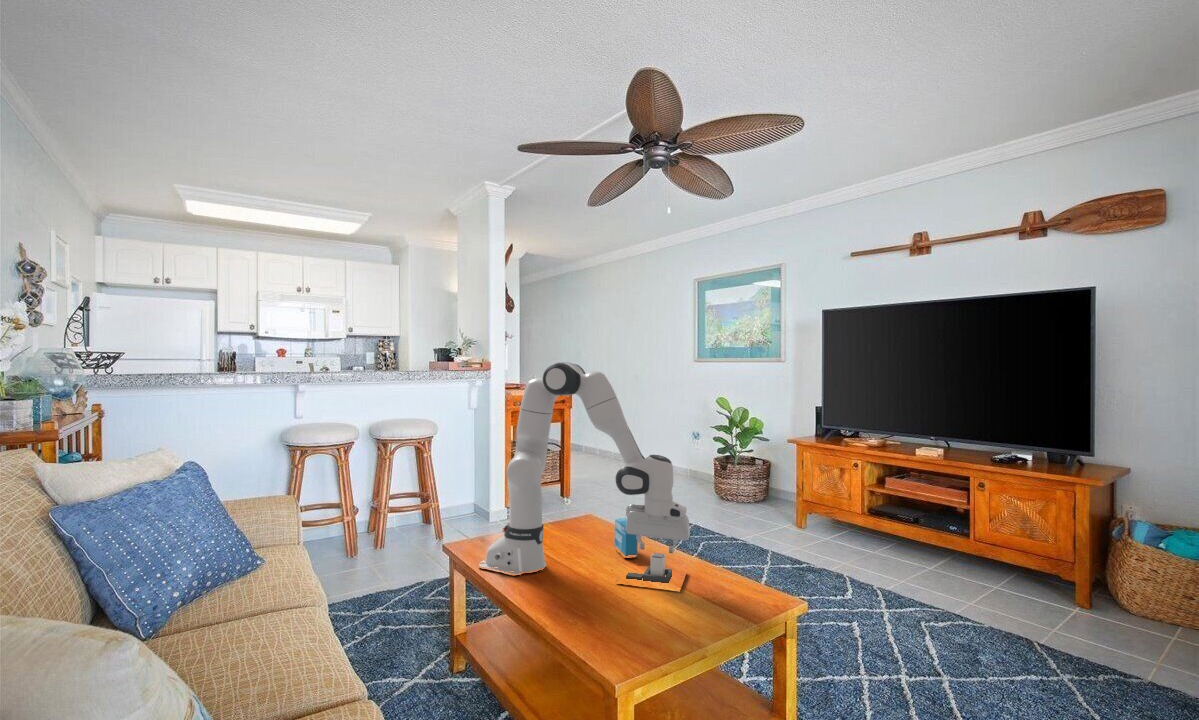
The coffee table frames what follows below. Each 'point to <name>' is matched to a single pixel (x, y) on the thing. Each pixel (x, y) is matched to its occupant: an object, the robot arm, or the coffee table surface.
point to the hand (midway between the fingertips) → (656, 550)
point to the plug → (657, 564)
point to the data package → (625, 538)
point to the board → (651, 576)
